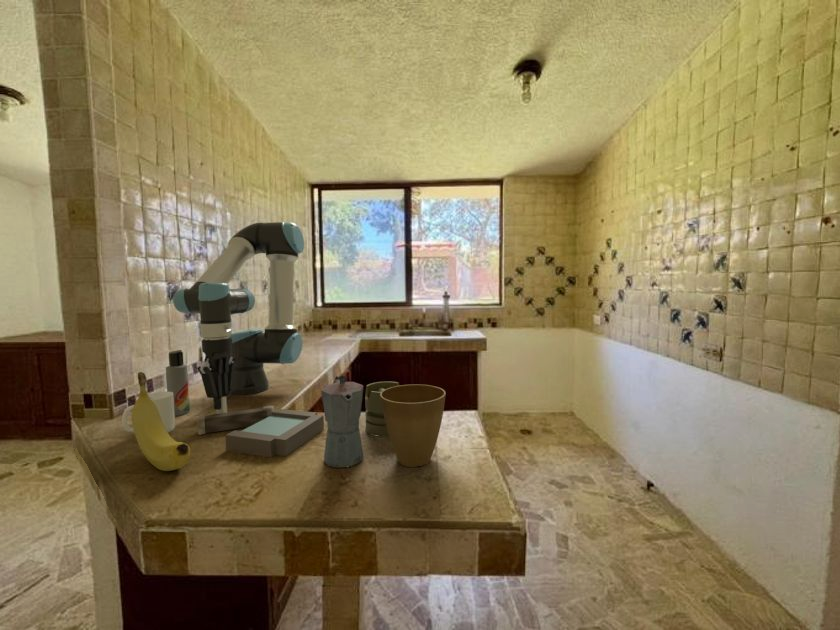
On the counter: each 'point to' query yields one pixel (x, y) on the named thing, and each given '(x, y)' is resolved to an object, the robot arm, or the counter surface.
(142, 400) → the banana
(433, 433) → the plant pot
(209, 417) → the folding leg
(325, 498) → the counter surface
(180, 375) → the lotion bottle
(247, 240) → the robot arm
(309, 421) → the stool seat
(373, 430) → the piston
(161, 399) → the cup
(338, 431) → the moka pot
